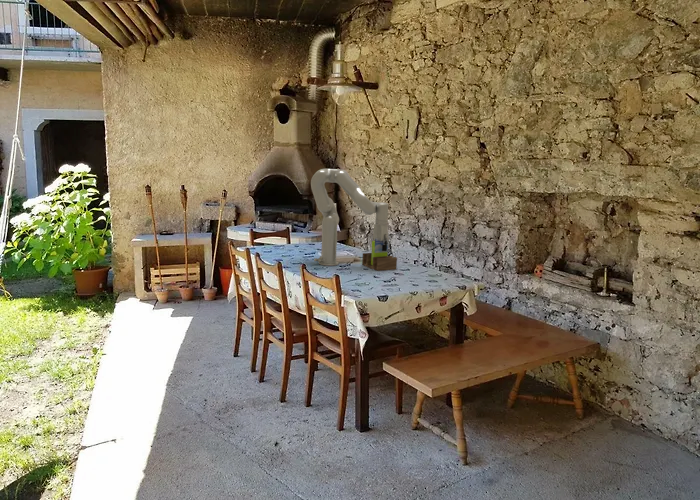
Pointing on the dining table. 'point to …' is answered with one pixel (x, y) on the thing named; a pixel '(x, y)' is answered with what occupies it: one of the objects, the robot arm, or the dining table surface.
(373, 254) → the box
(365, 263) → the rack
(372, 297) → the dining table surface
